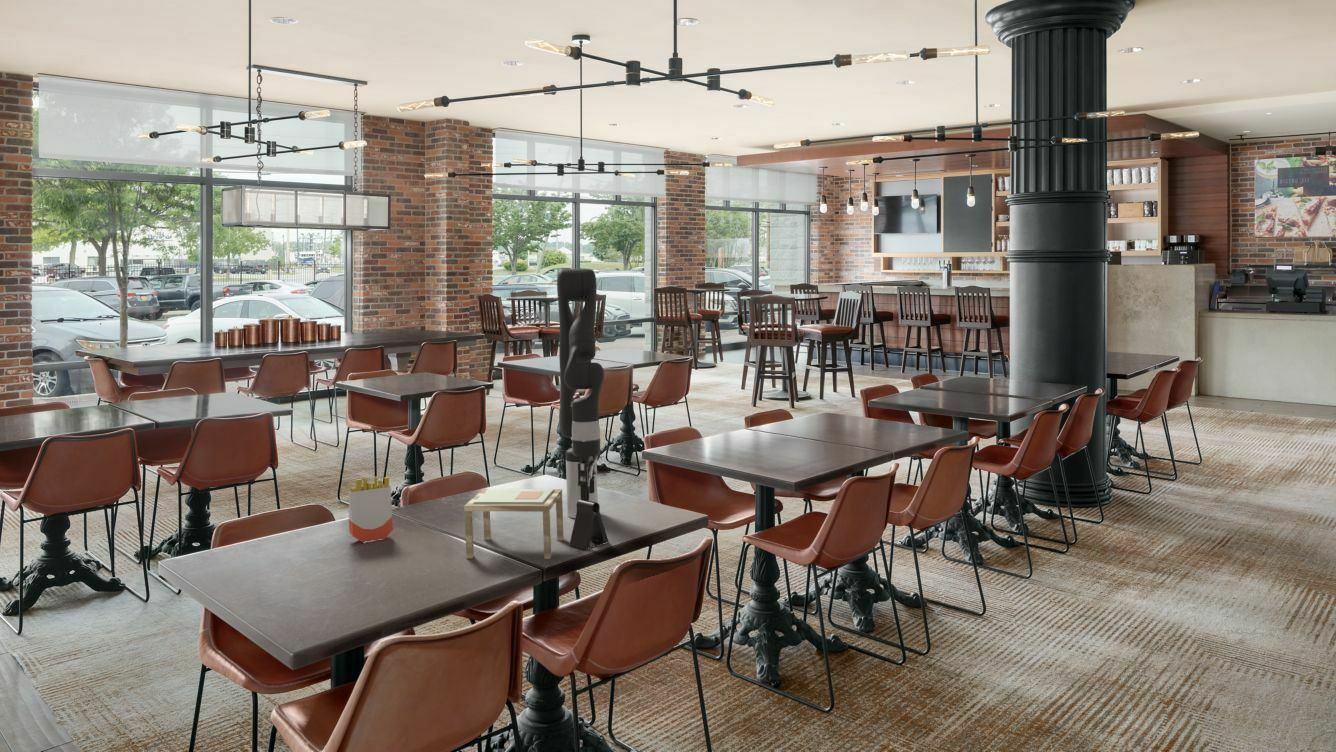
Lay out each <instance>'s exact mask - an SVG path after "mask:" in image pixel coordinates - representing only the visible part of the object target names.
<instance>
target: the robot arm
mask: <svg viewBox="0 0 1336 752" xmlns="http://www.w3.org/2000/svg"><path fill="white" fill-rule="evenodd" d="M556 292H557V305H558V317H559V318H558V319H559V345H558V346H559V347H558V348H559V350H558V351H559V353H558V354H559V356H558V357H559V376H560V377H559V378H560V399H559V400H560V401H559V430H560V431H559V432H560V434H561V436H562V437H563V438H569V439H570V438H571V443H572V444H571V447H570V448H568V449H567V450H566V451H565V470H566V472H565V473H566V496H567V497H566V505H567V507H566V508H567V516H568V517H569V518H571V519H575V518H576V513H577V506H576V505H577V502H578V500H582V501H592V502H596V503H598V504H599V501H598V499H599V496H598V468H597V467H598V464H597V461H598V459H597V456H599V455H600V454H601V428H600V427H601V426H600V421H599V419H600V417H599V415H600V414H599V403H600V402H599V400H600V394H601V391H602V386H603V382H604V378H605V370H604V368H603V366H602V365H601V364H600V363H599V362H592V360H593V359H595V357H596V353H597V352H596V338H595V337H596V335H595V324H596V313H597V312H596V310H597V277H596V273H595V271H594V270H593V269H592V268H591V269H590V268H562V269H560V270H559V271H558V272H557V277H556ZM570 302H584V305H583V308H582V310H581V311H580V313H579V314H578V316H577V317H576V318H575V316H574V314H573V312H572V310H571V307H570V304H569V303H570ZM578 390H590V392H589V394H588V395H587V394H586V396H582V397H578V398H574V397H575V395H576V392H577V391H578Z"/></svg>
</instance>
